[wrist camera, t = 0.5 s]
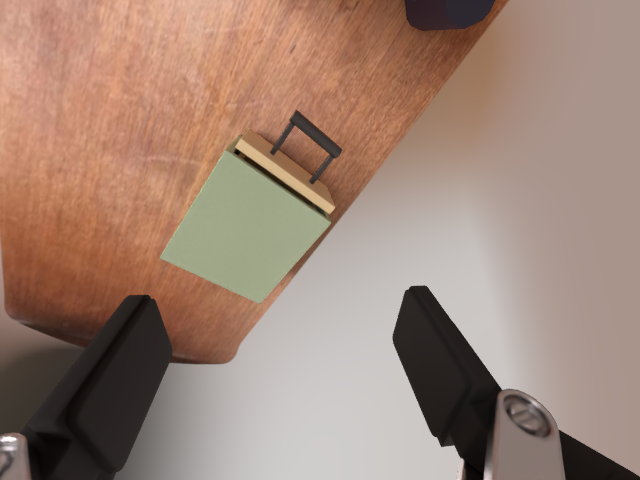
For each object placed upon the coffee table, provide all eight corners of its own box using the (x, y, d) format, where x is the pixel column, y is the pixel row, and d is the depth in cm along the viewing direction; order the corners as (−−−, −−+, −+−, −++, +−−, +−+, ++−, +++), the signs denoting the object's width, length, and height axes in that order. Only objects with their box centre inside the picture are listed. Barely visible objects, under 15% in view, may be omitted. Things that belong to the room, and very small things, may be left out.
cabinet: (239, 134, 35) (225, 149, 27) (322, 195, 41) (331, 223, 32) (184, 223, 40) (159, 258, 32) (264, 265, 46) (259, 304, 38)
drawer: (274, 88, 32) (271, 89, 25) (352, 156, 37) (366, 171, 30) (195, 214, 39) (176, 241, 32) (270, 256, 44) (267, 286, 38)
